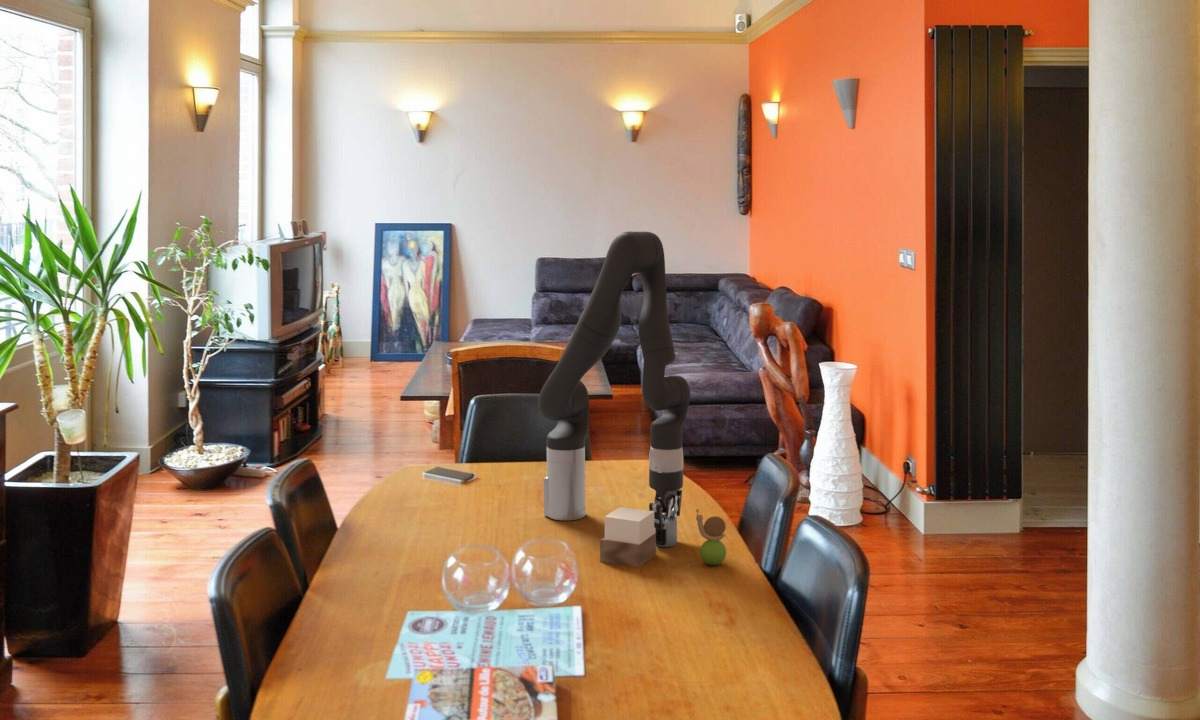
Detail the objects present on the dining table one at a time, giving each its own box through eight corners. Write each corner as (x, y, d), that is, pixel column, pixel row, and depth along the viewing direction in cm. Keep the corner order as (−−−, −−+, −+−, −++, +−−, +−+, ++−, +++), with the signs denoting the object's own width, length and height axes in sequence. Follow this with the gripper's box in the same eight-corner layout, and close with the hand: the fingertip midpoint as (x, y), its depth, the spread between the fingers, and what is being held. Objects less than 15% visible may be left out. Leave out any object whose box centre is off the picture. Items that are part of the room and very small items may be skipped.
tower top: (604, 539, 225) (604, 516, 225) (620, 529, 233) (620, 506, 232) (639, 544, 222) (639, 521, 221) (654, 533, 229) (654, 511, 228)
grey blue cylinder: (650, 545, 236) (651, 523, 235) (659, 538, 240) (659, 517, 240) (671, 548, 234) (672, 526, 233) (680, 541, 238) (680, 520, 237)
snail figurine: (693, 560, 226) (693, 505, 224) (723, 559, 227) (724, 505, 225) (697, 569, 221) (698, 513, 219) (728, 568, 221) (729, 512, 220)
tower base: (600, 562, 226) (600, 539, 225) (617, 550, 234) (617, 527, 233) (639, 568, 222) (639, 545, 221) (655, 555, 230) (655, 533, 229)
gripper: (662, 457, 242) (662, 529, 245) (637, 472, 229) (637, 548, 232) (693, 460, 239) (692, 534, 242) (669, 476, 226) (669, 553, 229)
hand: (665, 540), depth 237 cm, fingers closed on grey blue cylinder, 5 cm apart
